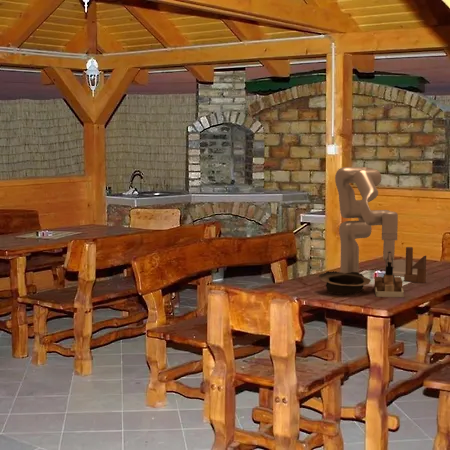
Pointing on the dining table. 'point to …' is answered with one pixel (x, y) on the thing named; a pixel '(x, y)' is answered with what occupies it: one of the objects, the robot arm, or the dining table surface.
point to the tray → (389, 293)
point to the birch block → (389, 288)
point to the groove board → (380, 284)
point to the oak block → (388, 279)
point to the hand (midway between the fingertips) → (388, 273)
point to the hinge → (401, 268)
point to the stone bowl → (344, 282)
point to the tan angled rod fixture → (419, 266)
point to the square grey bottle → (385, 268)
